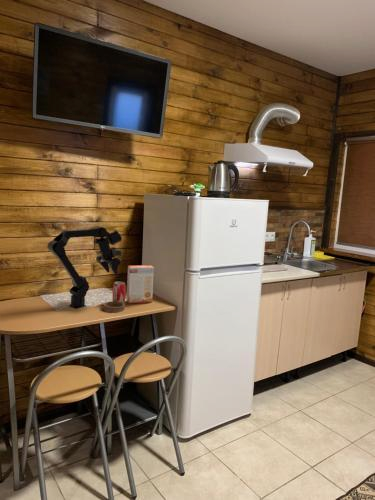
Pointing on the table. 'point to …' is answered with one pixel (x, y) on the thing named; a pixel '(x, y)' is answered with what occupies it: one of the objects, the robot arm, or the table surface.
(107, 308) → the ring
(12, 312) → the table surface
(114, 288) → the soda can
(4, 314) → the table surface
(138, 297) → the cracker box
